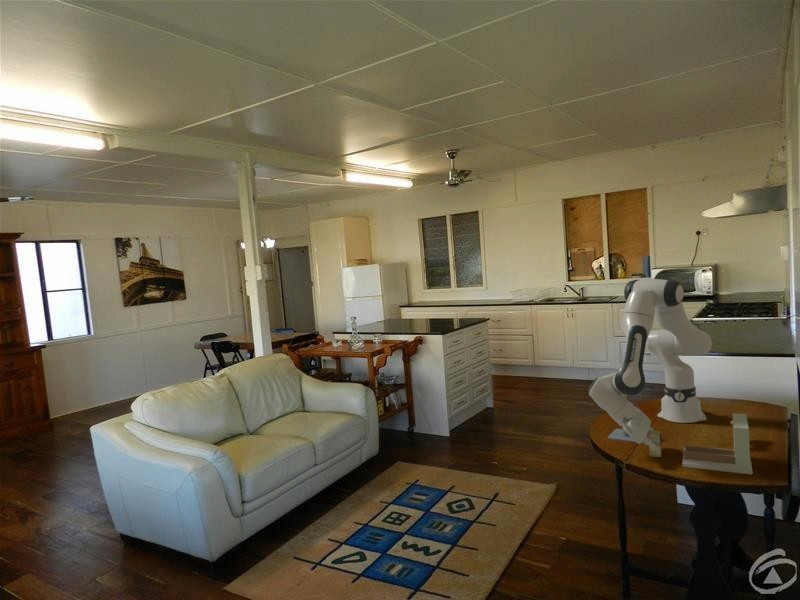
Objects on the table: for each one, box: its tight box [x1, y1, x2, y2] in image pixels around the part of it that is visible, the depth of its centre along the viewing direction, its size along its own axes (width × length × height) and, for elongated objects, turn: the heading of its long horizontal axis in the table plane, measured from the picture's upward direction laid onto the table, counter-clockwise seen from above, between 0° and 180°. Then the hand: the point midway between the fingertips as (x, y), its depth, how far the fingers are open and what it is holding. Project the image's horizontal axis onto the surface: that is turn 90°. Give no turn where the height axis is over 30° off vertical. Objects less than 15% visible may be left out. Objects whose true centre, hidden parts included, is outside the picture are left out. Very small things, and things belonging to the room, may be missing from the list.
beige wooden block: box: [648, 430, 663, 458], centre depth 190 cm, size 4×4×8 cm
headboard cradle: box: [681, 413, 753, 475], centre depth 180 cm, size 16×20×15 cm
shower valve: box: [607, 425, 637, 444], centre depth 211 cm, size 12×6×15 cm
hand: (656, 442), depth 190 cm, fingers open, 8 cm apart
